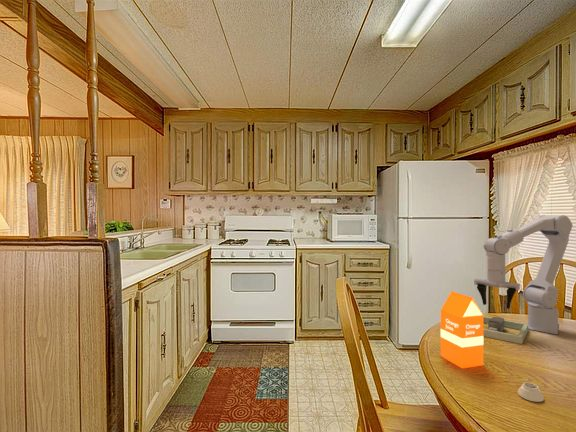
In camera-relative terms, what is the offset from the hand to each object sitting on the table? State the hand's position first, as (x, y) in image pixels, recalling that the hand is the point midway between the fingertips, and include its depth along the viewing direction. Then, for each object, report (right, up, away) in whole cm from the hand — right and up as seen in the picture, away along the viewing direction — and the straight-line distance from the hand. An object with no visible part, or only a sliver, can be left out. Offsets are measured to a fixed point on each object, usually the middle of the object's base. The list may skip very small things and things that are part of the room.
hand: (496, 306), depth 126 cm
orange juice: (-26, -10, -25) cm, 38 cm away
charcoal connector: (0, -9, 0) cm, 9 cm away
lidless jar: (-20, -10, -46) cm, 51 cm away
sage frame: (0, -9, 0) cm, 9 cm away
